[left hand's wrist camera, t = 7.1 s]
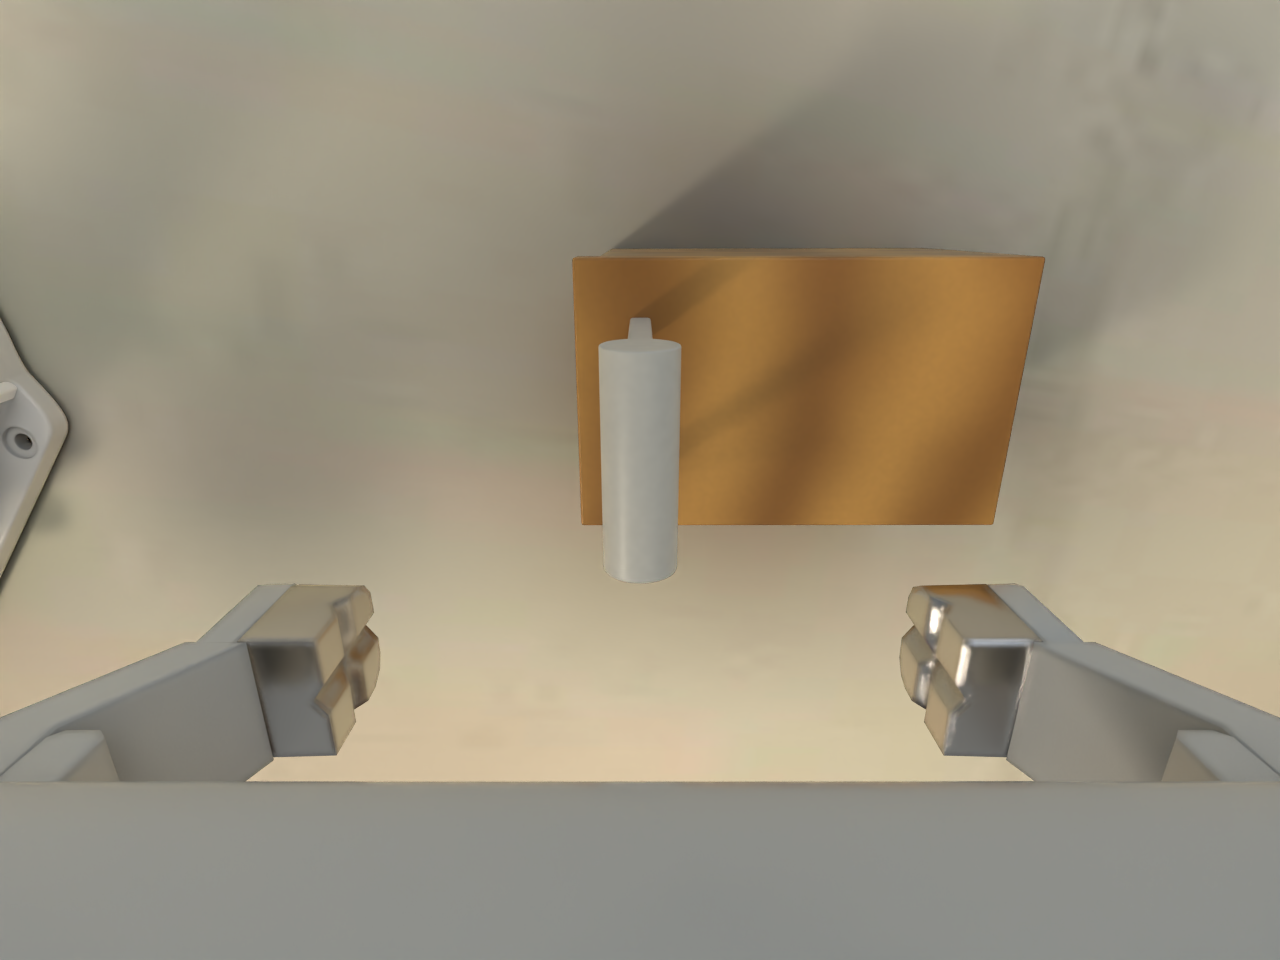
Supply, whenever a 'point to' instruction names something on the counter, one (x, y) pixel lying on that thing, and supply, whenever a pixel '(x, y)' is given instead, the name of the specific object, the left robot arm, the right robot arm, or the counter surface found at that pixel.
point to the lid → (793, 392)
